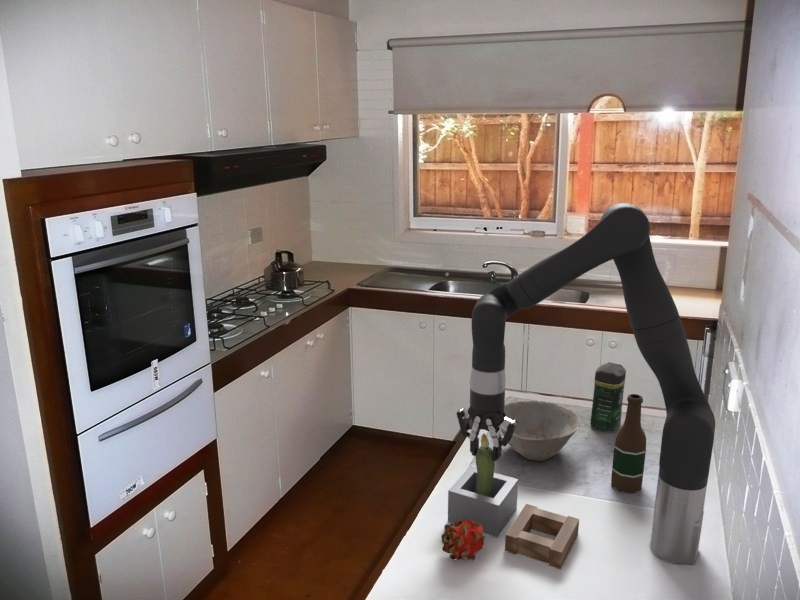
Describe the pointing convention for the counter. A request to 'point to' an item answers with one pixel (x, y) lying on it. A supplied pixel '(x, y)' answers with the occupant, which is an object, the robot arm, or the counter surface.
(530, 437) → the ceramic bowl
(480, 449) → the vegetable
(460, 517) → the holder
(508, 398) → the counter surface
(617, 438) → the beer bottle
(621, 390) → the coffee jar
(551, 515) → the board
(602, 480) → the counter surface
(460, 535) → the dragon fruit
